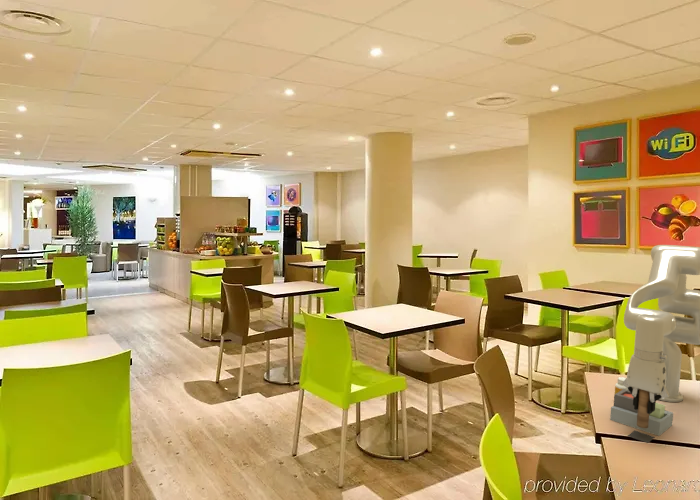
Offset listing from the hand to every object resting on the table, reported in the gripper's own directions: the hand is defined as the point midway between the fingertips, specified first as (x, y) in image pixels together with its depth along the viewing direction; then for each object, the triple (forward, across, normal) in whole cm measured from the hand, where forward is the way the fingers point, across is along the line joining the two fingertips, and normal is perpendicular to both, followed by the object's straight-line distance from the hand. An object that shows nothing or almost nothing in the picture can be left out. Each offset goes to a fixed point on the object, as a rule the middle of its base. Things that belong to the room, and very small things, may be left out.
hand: (643, 410), depth 161 cm
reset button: (+6, +8, -10) cm, 14 cm away
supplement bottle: (+10, +15, -23) cm, 29 cm away
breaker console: (+9, +4, -10) cm, 14 cm away
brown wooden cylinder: (+5, 0, 0) cm, 5 cm away
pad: (+9, 0, +1) cm, 9 cm away
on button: (+6, 0, -10) cm, 12 cm away
